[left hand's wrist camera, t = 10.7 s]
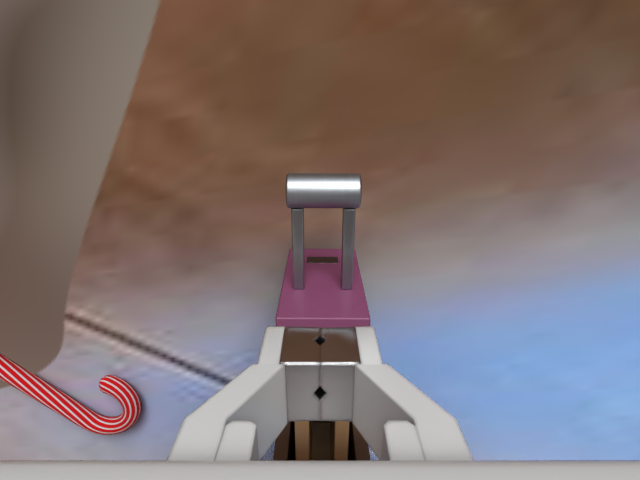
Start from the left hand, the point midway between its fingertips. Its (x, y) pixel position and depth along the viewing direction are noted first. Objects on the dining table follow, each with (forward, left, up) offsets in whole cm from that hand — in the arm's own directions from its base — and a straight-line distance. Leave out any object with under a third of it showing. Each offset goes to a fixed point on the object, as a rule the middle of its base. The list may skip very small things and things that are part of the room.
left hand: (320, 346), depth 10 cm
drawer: (-6, +4, -15) cm, 17 cm away
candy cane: (+1, +26, -16) cm, 31 cm away
